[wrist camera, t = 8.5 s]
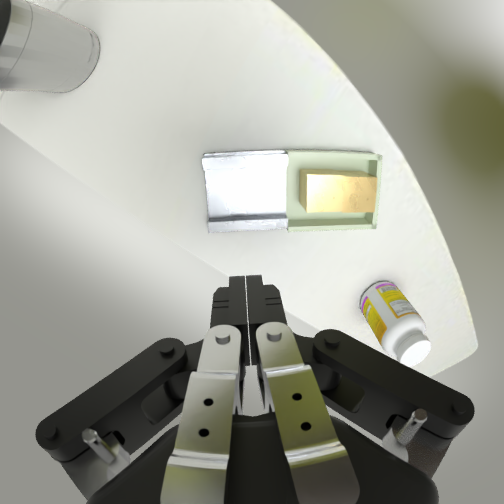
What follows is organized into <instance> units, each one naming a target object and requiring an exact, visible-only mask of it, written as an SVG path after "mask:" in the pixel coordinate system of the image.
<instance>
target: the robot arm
mask: <svg viewBox="0 0 504 504" xmlns="http://www.w3.org/2000/svg"><path fill="white" fill-rule="evenodd" d="M99 51H100V45H99V40H98V37H97V36H96V34H95V33H94V32H93V31H91V30H90V29H88V28H86V27H84V26H82V25H80V24H78V23H76V22H74V21H72V20H70V19H68V18H65V17H63V16H61V15H59V14H57V13H54V12H52V11H50V10H47V9H45V8H42V7H40V6H38V5H35V4H33V3H30V2H27V1H25V0H0V91H42V92H59V93H62V92H68V91H71V90H73V89H75V88H77V87H78V86H80V85H81V84H82V83H83V82H84V81H85V80H86V79H87V78H88V77H89V75H90V74H91V72H92V71H93V69H94V67H95V65H96V63H97V60H98V57H99ZM246 285H247V303H248V320H249V334H250V349H251V362H252V365H257V380H258V386H259V391H260V396H261V401H262V406H263V411H264V414H262V415H259V416H254V417H252V416H245V415H243V404H244V386H245V379H244V377H245V373H246V370H245V366H249V365H250V356H249V339H248V322H247V307H246V290H245V276H231V277H229V287H220V288H218V289H217V290H216V292H215V293H214V296H213V304H212V314H211V323H210V329H209V330H208V331H207V332H206V334H205V337H204V339H203V340H201V341H199V342H197V343H193V344H189V345H186V346H185V345H184V344H183V342H182V341H180V340H178V339H175V338H164V339H161V340H159V341H157V342H155V343H154V344H152V345H151V346H150V347H149V348H147V349H145V350H144V351H143V352H141V353H140V354H138V355H137V356H135V357H134V358H133V359H131V360H130V361H128V362H127V363H125V364H124V365H123V366H121V367H120V368H118V369H117V370H115V371H114V372H113V373H111V374H110V375H108V376H107V377H105V378H104V379H102V380H101V381H99V382H98V383H97V384H95V385H94V386H92V387H91V388H89V389H88V390H86V391H85V392H84V393H82V394H81V395H79V396H78V397H76V398H75V399H73V400H72V401H70V402H69V403H67V404H66V405H64V406H63V407H62V408H60V409H58V410H57V411H56V412H54V413H52V414H51V415H50V416H48V417H47V418H45V419H44V420H42V421H41V422H40V423H39V425H38V426H37V429H36V440H37V442H38V444H39V445H40V446H41V447H42V448H43V449H45V451H47V452H48V453H49V454H50V455H51V457H52V458H54V459H55V460H56V461H57V462H58V463H60V464H61V465H62V467H63V468H64V469H65V471H66V472H67V474H68V475H69V477H70V478H71V479H72V481H73V482H74V484H75V485H76V486H77V488H78V489H79V490H80V492H81V493H82V494H83V495H84V497H85V498H86V499H87V500H88V501H87V503H86V504H438V502H439V496H438V490H437V487H436V486H435V483H434V482H433V480H432V477H433V475H434V473H435V472H436V470H437V468H438V467H439V465H440V463H441V461H442V459H443V457H444V456H445V454H446V452H447V450H448V448H449V446H450V443H451V442H452V441H453V439H454V438H455V437H456V436H457V435H458V434H459V433H460V432H461V431H462V430H463V429H464V428H465V427H466V425H467V424H468V423H469V422H470V421H471V420H472V418H473V416H474V405H473V403H472V401H471V400H470V399H469V398H468V397H467V396H465V395H464V394H462V393H460V392H457V391H455V390H453V389H451V388H449V387H447V386H445V385H443V384H441V383H439V382H437V381H435V380H433V379H431V378H429V377H427V376H425V375H423V374H421V373H419V372H417V371H415V370H413V369H412V368H410V367H408V366H406V365H404V364H402V363H400V362H398V361H396V360H394V359H392V358H390V357H388V356H386V355H384V354H383V353H381V352H379V351H377V350H375V349H373V348H371V347H369V346H367V345H365V344H364V343H362V342H360V341H358V340H356V339H354V338H352V337H350V336H349V335H347V334H345V333H343V332H341V331H338V330H334V329H327V330H323V331H320V332H319V333H317V334H316V335H315V337H314V338H310V337H303V336H299V335H297V334H295V333H293V332H292V330H291V329H290V327H289V326H288V325H287V321H286V317H285V313H284V309H283V304H282V300H281V296H280V292H279V290H278V289H277V288H276V287H275V286H274V285H263V282H262V276H261V275H249V276H246ZM326 405H327V406H328V407H330V408H332V409H333V410H334V411H336V412H338V413H339V414H341V415H342V416H344V417H345V418H347V419H348V420H350V421H352V422H353V423H355V424H357V425H358V426H360V427H361V428H363V429H364V430H366V431H368V432H369V433H371V434H373V435H374V436H376V437H378V438H379V439H381V440H382V445H383V447H381V446H380V445H378V444H376V443H375V442H373V441H372V440H370V439H369V438H367V437H366V436H364V435H363V434H361V433H360V432H358V431H357V430H355V429H354V428H352V427H351V426H350V425H348V424H346V423H345V422H344V421H342V420H340V419H338V418H336V417H333V416H331V415H329V413H328V411H327V408H326ZM181 412H182V414H181V419H180V423H179V424H178V425H176V426H175V427H172V428H171V429H169V430H168V431H167V432H165V433H164V434H163V435H162V436H161V437H160V438H159V439H158V440H157V441H156V442H154V443H153V444H152V445H151V446H150V447H149V448H148V449H146V450H145V451H144V452H143V453H142V454H141V455H140V456H139V457H137V458H136V459H135V460H134V461H133V462H131V463H130V455H131V454H132V453H134V452H135V451H136V450H137V449H139V448H140V447H141V446H142V445H144V444H145V443H146V442H147V441H148V440H150V439H151V438H152V437H153V436H154V435H156V434H157V433H158V432H159V431H160V430H162V429H163V428H164V427H165V426H166V425H167V424H169V423H170V422H171V421H172V420H173V419H174V418H176V417H177V416H178V415H179V414H180V413H181Z"/></svg>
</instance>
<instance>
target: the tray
mask: <svg viewBox="0 0 504 504" xmlns="http://www.w3.org/2000/svg"><path fill="white" fill-rule="evenodd" d="M285 151H286V154H288V166H286V216H287V218H288V229H287V230H288V232H302V231H328V230H356V229H376V224H377V216H378V206H379V196H380V184H381V169H382V155H379V154H375V153H372V152H356V151H334V150H285ZM300 169H334V170H348V171H364V172H366V173H369V174H371V175H373V176H375V177H377V178H378V179H377V192H376V203H375V212H357V213H342V212H306V211H305V209H304V208H303V207H302V205H301V204H300V202H299V181H300Z"/></svg>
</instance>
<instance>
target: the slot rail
mask: <svg viewBox="0 0 504 504" xmlns="http://www.w3.org/2000/svg"><path fill="white" fill-rule="evenodd" d="M202 164H203V170H205V180H206V192H207V204H208V215H209V219H208V233H211V232H229V231H248V230H269V229H288V218H287V216H286V166H288V154H286V151H285V150H257V151H234V152H218V153H205V154H204V157H203V158H202Z"/></svg>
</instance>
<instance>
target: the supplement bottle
mask: <svg viewBox="0 0 504 504" xmlns="http://www.w3.org/2000/svg"><path fill="white" fill-rule="evenodd" d="M361 311H362V313H363V315H364V316H365V318H366V320H367V322H368V323H369V325H370V327H371V329H372V330H373V332H374V334H375V336H376V337H377V339H378V341H379V343H380V345H381V346H382V348H383V350H384V351H385V352H386V353H387V354H388V355H390V356H395V357H397V360H398V361H399V362H400V363H402V364H404V365H406V366H408V367H412V366H414V365H416V364H418V363H420V362H421V361H422V360H423V359H424V358H425V357H426V356H427V355H428V353H429V352H430V349H431V342H430V341H429V339H428V338H427V336H426V335H425V332H426V325H425V322H424V320H423V319H422V317H421V316H420V315H419V314H418V312H417V311H416V310H415V309H414V307H413V306H412V305H411V304H410V302H409V301H408V300H407V299H406V297H405V296H404V295H403V294H402V293H401V291H400V290H399V289H398V288H397V287H396V286H395V285H394V284H393V283H390V282H379V283H376V284H374V285H373V286H371V287H370V288H369V289H368V290H367V291H366V292H365V293H364V295H363V297H362V299H361Z"/></svg>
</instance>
